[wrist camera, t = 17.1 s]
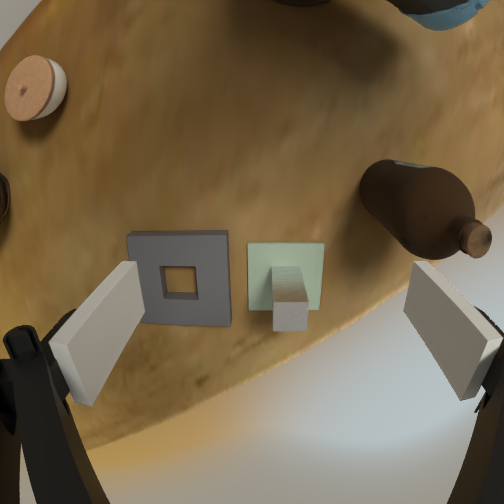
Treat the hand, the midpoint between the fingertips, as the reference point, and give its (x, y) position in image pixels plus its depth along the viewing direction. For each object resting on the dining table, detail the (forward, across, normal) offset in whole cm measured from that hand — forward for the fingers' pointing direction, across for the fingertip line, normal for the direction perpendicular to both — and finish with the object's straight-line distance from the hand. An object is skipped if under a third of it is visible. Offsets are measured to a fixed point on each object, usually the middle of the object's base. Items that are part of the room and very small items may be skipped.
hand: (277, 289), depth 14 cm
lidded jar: (+35, -36, +18) cm, 53 cm away
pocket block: (+35, -14, -16) cm, 41 cm away
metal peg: (+34, +3, -16) cm, 38 cm away
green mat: (+35, +3, -16) cm, 38 cm away
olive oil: (+35, +19, -1) cm, 40 cm away
